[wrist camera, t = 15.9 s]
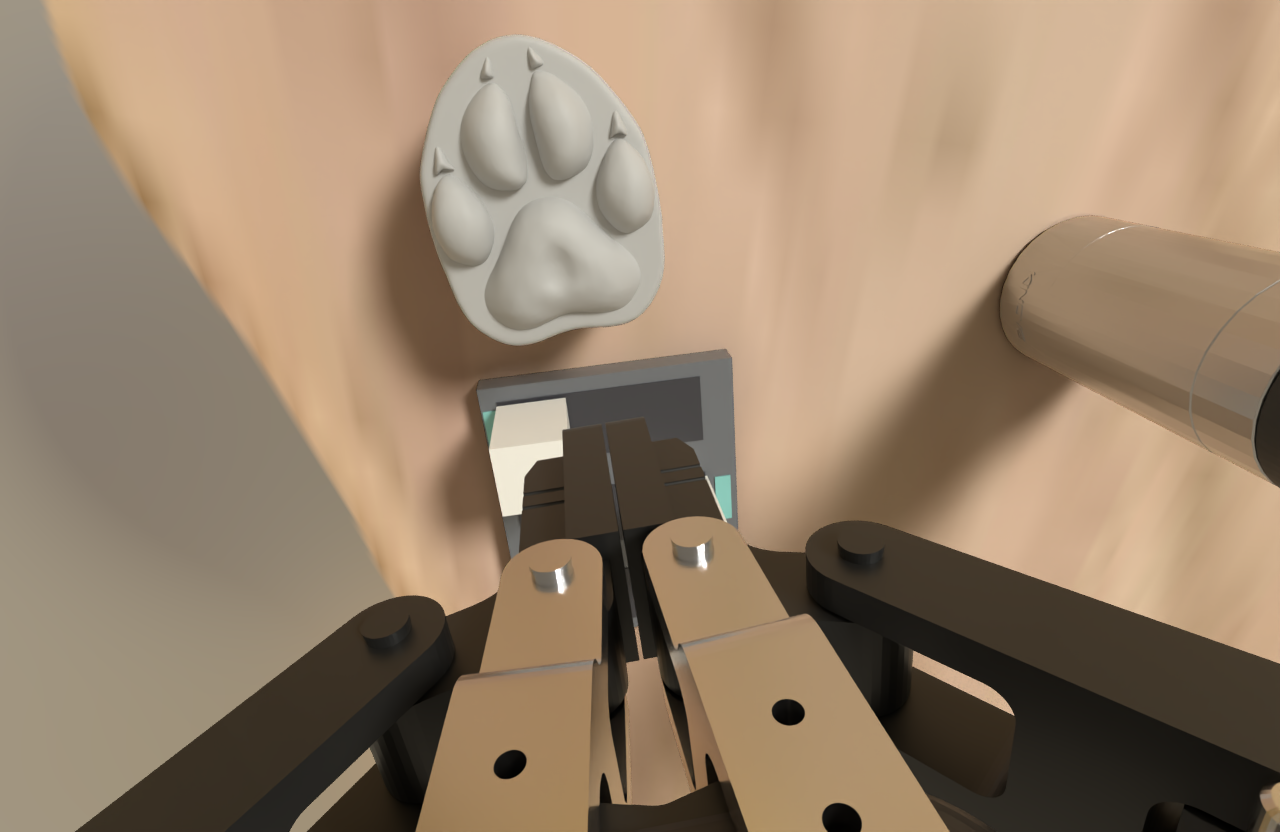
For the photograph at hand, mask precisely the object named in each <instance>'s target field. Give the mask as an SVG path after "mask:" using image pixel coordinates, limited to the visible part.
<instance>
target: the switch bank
mask: <svg viewBox="0 0 1280 832" xmlns="http://www.w3.org/2000/svg"><path fill="white" fill-rule="evenodd" d="M476 391H477V396H478V401H479V406H480V410H481V415H482V420H483V425H484V430H485V435H486V439H487V444H488V449H489V447H490V441H491V435H492V429H493V424H494V418H495V412H496V407H498V406H505V405H513V404H521V403H528V402H536V401H544V400H552V399H559V398H566V404H567V410H568V417H569V424H570V428H577V427H583V426H589V425H595V424H602V430H603V436H604V442H605V448H606V454H607V460H608V467H609V473H610V479H611V485H612V491H613V497H614V504H615V510H616V516H617V522H618V528H619V535H620V541H621V547H622V554H623V560H624V566H625V573H626V579H627V585H628V592H629V598H630V604H631V610H632V617H633V623H634V627H636V626H638V622H637V616H636V610H635V604H634V598H633V592H632V586H631V580H630V574H629V568H628V562H627V556H626V550H625V544H624V538H623V532H622V526H621V520H620V513H619V507H618V501H617V495H616V488H615V482H614V476H613V470H612V463H611V457H610V451H609V445H608V438H607V432H606V426H605V423H607V422H613V421H619V420H625V419H632V418H638V417H644V418H645V421H646V424H647V428H648V431H649V434H650V438H651V441H652V442H653V441H659V440H665V439H671V438H678V439H680V440H681V441H683V442H684V443H686V444H687V445H689V446H690V447H692V448H693V449H694V451H695V453H696V455H697V458H698V460H699V463H700V467H702V470H703V472H704V475H705V476H708V479H709V481H710V483H711V486H712V488H713V490H714V493H715V495H716V497H717V500H718V502H719V504H720V507H721V509H722V511H723V514H724V516H725V518H726V521H727V523H729V524H731V525H732V526H734V527H735V528H736V529H737V530H738V513H737V485H736V457H735V428H734V400H733V372H732V357H731V356H730V354H729V353H728V351H727V350H726V349H722V350H714V351H706V352H698V353H690V354H682V355H674V356H666V357H659V358H651V359H643V360H635V361H627V362H619V363H611V364H603V365H596V366H588V367H580V368H572V369H564V370H556V371H548V372H540V373H532V374H525V375H517V376H509V377H501V378H493V379H485V380H479V382H478V386H477V390H476ZM489 454H490V453H489ZM490 459H491V458H490ZM491 464H492V462H491ZM492 469H493V467H492ZM493 473H494V472H493ZM494 478H495V477H494ZM495 483H496V482H495ZM496 488H497V487H496ZM497 493H498V492H497ZM498 498H499V496H498ZM499 503H500V501H499ZM500 507H501V506H500ZM501 512H502V511H501ZM521 516H522V514H518V515H511V516H504V517H503V516H502V517H503V522H504V527H505V532H506V537H507V541H508V546H509V551H510V556H511V559H512V558H513V557H515V556H516V555H517V554H518V553H519V543H520V530H521Z"/></svg>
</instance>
